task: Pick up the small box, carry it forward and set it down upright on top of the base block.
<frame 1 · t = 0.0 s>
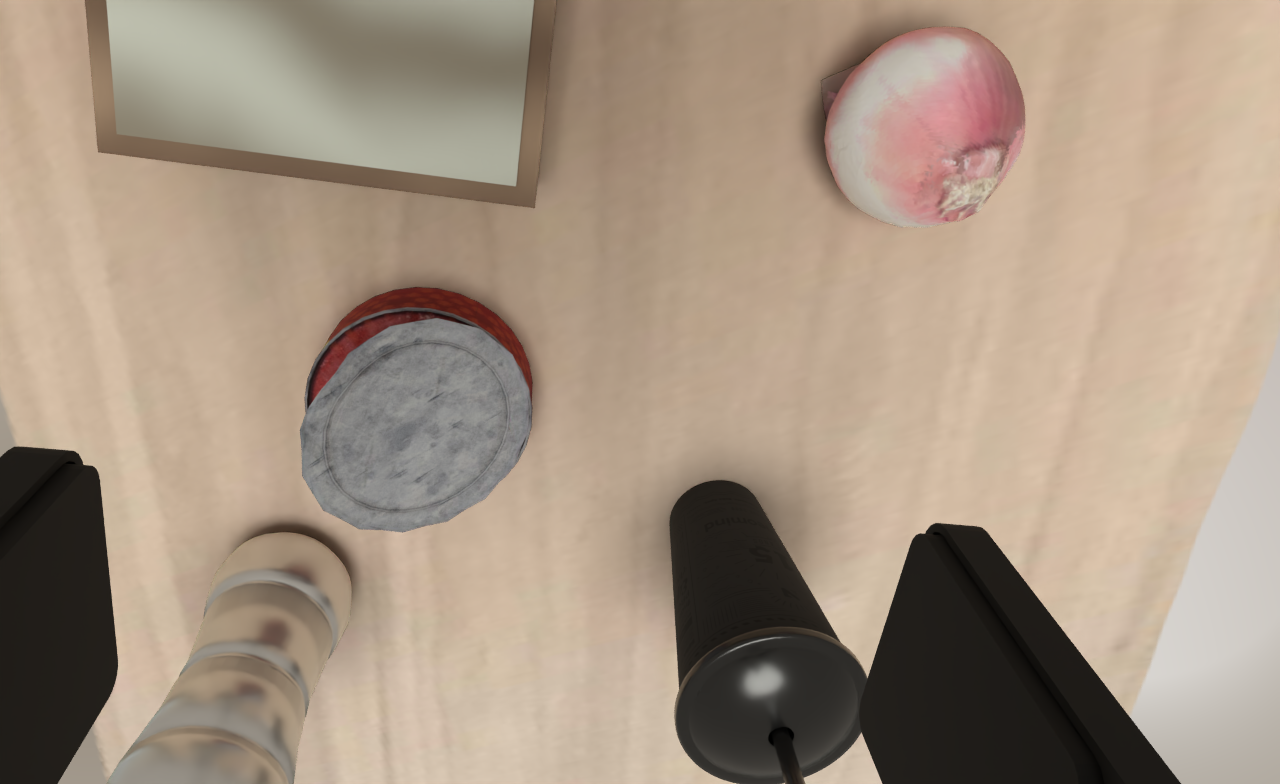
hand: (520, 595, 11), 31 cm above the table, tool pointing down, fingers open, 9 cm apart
base: (347, 7, 36), on the table
drinking cup: (715, 518, 48), on the table
canned food: (429, 383, 44), on the table
plastic bottle: (296, 568, 47), on the table
onion: (893, 115, 40), on the table
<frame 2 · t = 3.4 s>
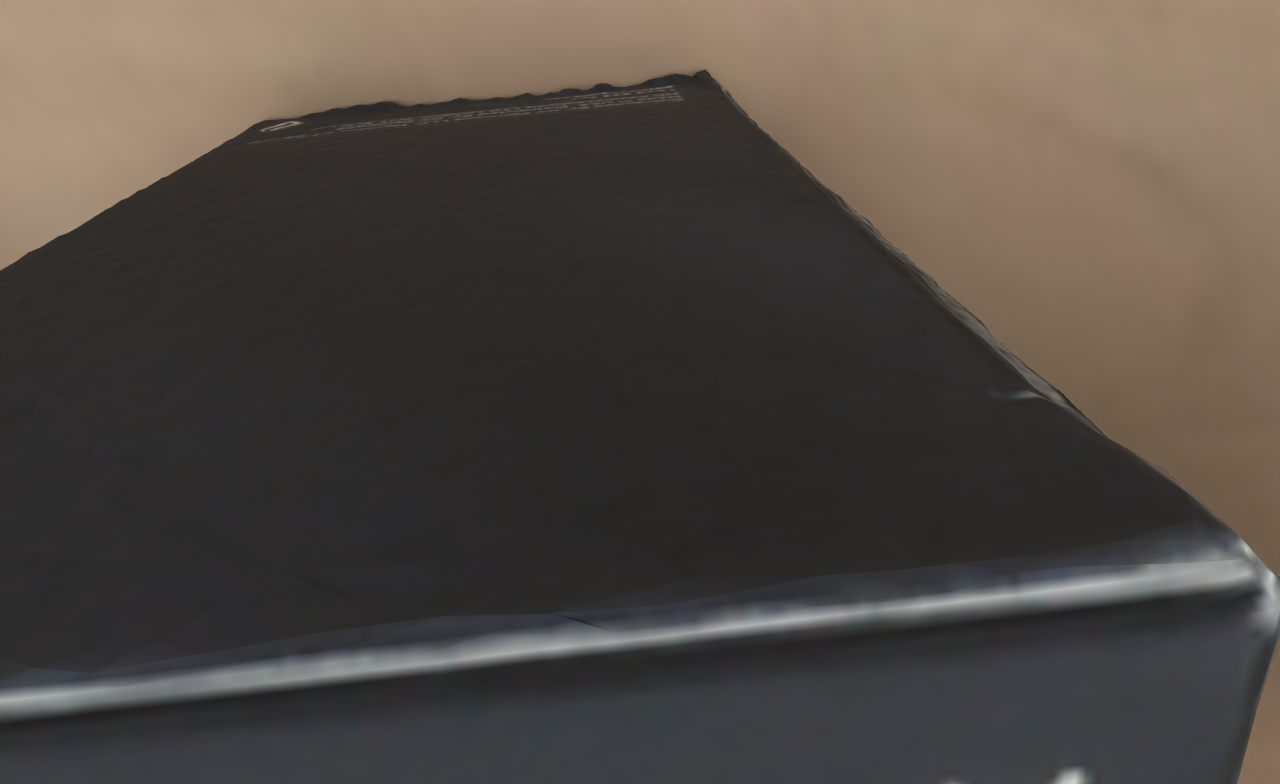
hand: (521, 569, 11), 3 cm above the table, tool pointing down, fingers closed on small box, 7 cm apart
small box: (528, 448, 14), on the table, touching gripper
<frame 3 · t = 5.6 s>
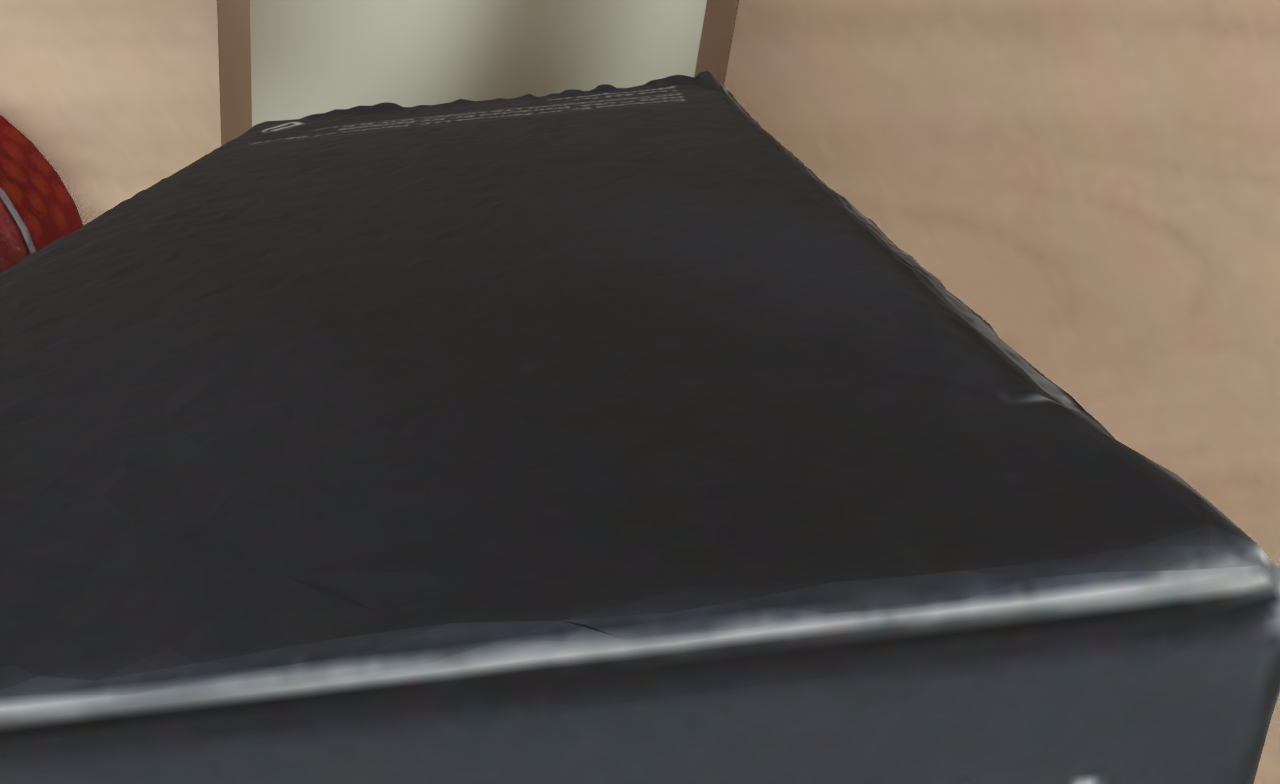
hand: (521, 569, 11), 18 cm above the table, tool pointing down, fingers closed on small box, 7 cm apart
base: (479, 181, 27), on the table
small box: (530, 449, 14), point 15 cm above the table, touching gripper
when the fingers open (8 cm above the table, at t = 8.3 s): small box stays where it is, resting on base.
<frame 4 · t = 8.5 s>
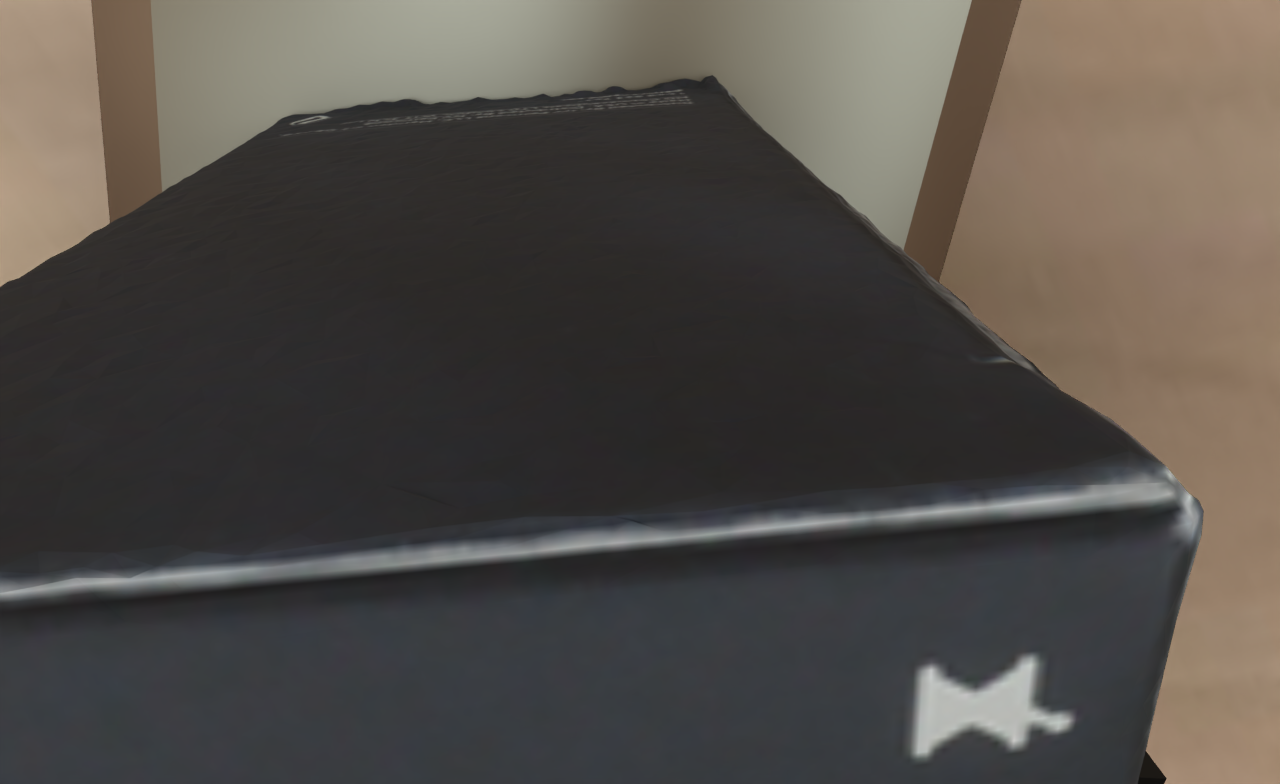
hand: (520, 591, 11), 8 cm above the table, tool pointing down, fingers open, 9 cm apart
base: (531, 336, 18), on the table
small box: (534, 434, 15), point 4 cm above the table, touching base
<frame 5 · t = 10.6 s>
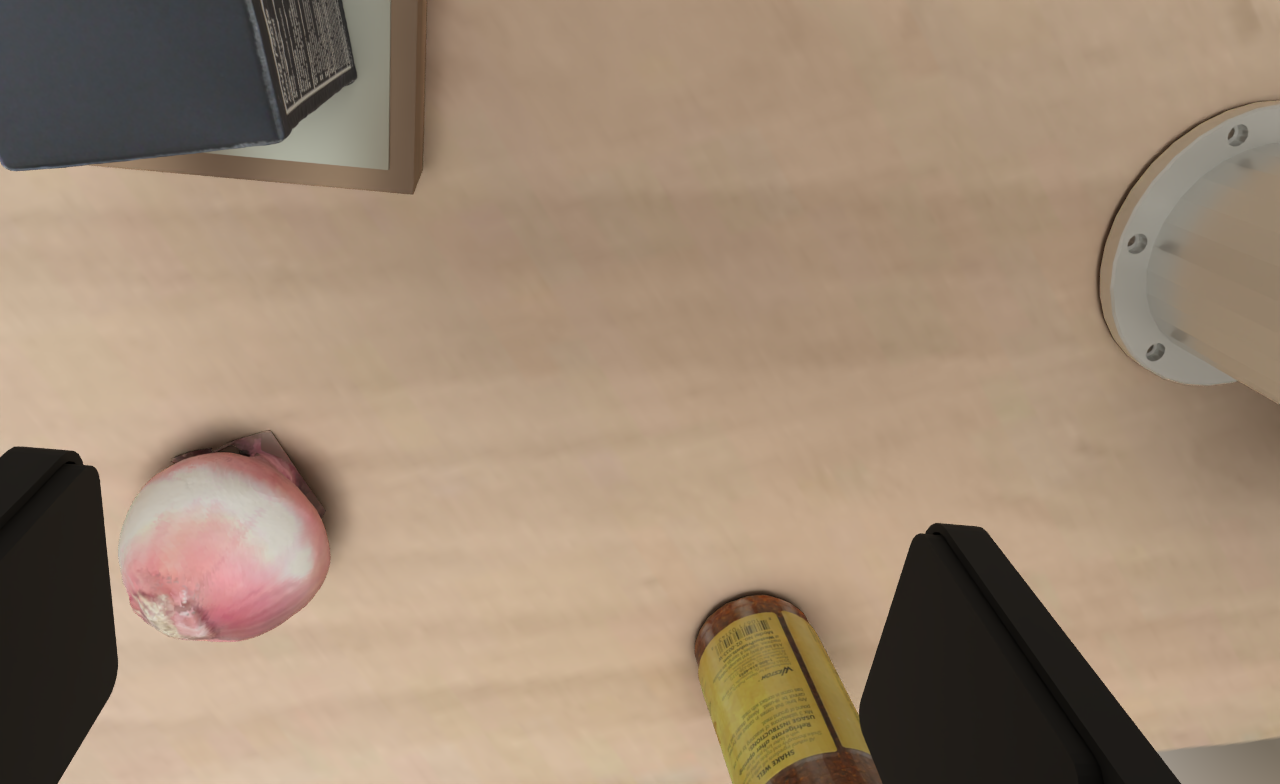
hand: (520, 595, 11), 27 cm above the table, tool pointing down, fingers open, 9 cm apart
sauce bottle: (753, 634, 47), on the table
onion: (250, 499, 40), on the table
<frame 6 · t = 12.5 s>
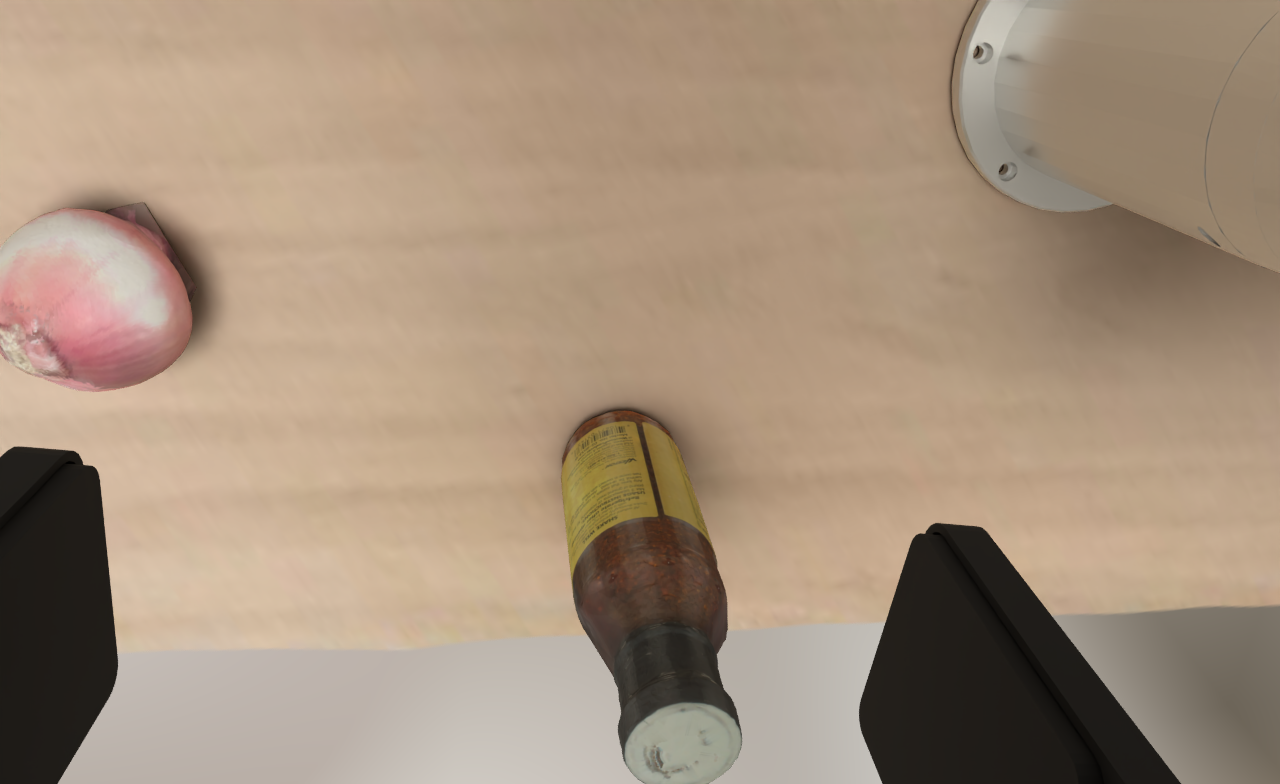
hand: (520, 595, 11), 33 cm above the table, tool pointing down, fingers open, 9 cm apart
sauce bottle: (623, 456, 48), on the table
onion: (128, 275, 42), on the table
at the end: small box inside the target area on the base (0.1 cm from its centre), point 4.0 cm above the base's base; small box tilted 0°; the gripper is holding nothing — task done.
